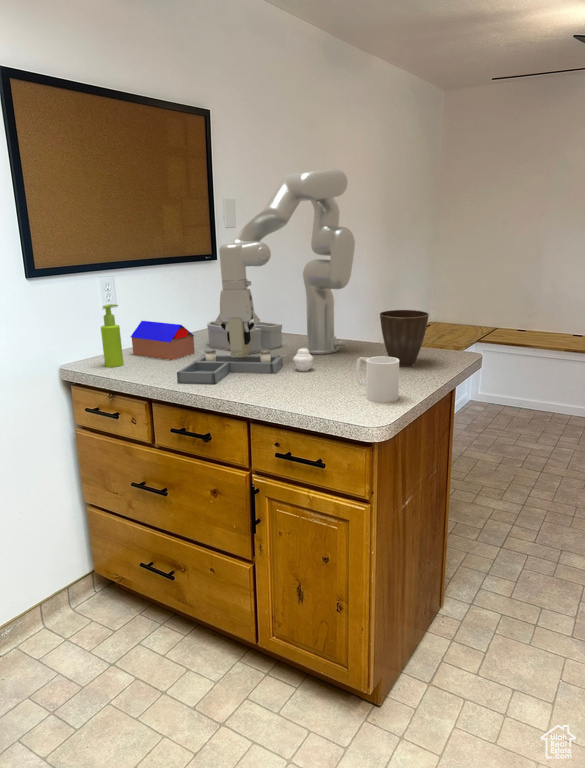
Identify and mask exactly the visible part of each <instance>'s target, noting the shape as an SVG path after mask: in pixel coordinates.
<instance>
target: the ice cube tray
mask: <svg viewBox="0 0 585 768" xmlns="http://www.w3.org/2000/svg"><path fill="white" fill-rule="evenodd" d="M215 321H216V320H213V321H209V322H207V324H206V326H207V332H208V344H209V347H211V346H212V347H211V348H213V347H215V348H214V349H218V348H221V349H220V350H223V349H226V350H225V351H228V350H231V348H230V345H229V342H228V339H227V332H226V331H225V330H224V329H223V328H222V327H221V326H220V325H218V324H217V323H216V322H215ZM253 321H254V320H253V319H252V320H251V321H250V322H249V323H250V324H251V323H252V322H253ZM224 323H225V322H224ZM282 330H283V324H281V323H272V322H267V321H260V322H258V323H257V324H256V325H254V327H253V328H252V329H251V330H250V338H251V340H250V342H249V343H248V344H249V354H251V355H254V354H253V353H255V354H258V353H257V352H259V353H260V350H262V349H266V348H267V349H269V350H275V348H276V349H279V348H282V346H283V338H282V337H283V336H282V334H283V332H282ZM261 347H262V348H261ZM249 354H248V355H249Z"/></svg>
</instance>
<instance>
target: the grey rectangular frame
mask: <svg viewBox="0 0 585 768" xmlns="http://www.w3.org/2000/svg"><path fill="white" fill-rule="evenodd" d="M283 359H284V356H283V355H282V356H281V355H280V356H279V355H278V356H277V355H272V356H271V363H269V362H261V360H260V355H246V356H245V357H231V354H230V355H229V354H228V355H227V354H224V355H223V354H222V355H221V354H216V361H206V355H205V354H203V355H201V356H199V357H198V358H196V359H195V360H193V361H192V362H229V366H230V373H236V372H258V373H257V374H277V373H278V372H279V370H281V368H282V367H283V365H284V360H283ZM276 372H277V373H276Z"/></svg>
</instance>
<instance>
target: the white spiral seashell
mask: <svg viewBox="0 0 585 768" xmlns="http://www.w3.org/2000/svg"><path fill="white" fill-rule="evenodd" d="M296 352H297V353H296V355H294V357H293V358H292V359H293V362H294V365H295V367H296V368H297V369H296V370H298V371H299V372H307V371H310V369H311V366H312V364H313V361H314V357H313V356H312V355H311V353H309V351H308V349H305V348H303V347H302V348H299V349H298V350H297V351H296Z"/></svg>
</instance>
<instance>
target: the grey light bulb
mask: <svg viewBox="0 0 585 768" xmlns="http://www.w3.org/2000/svg"><path fill="white" fill-rule="evenodd" d="M216 350H217V348H213V347H210V348H205V349H204V355H206V361H216V355H217V354H216V352H217V351H216Z"/></svg>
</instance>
